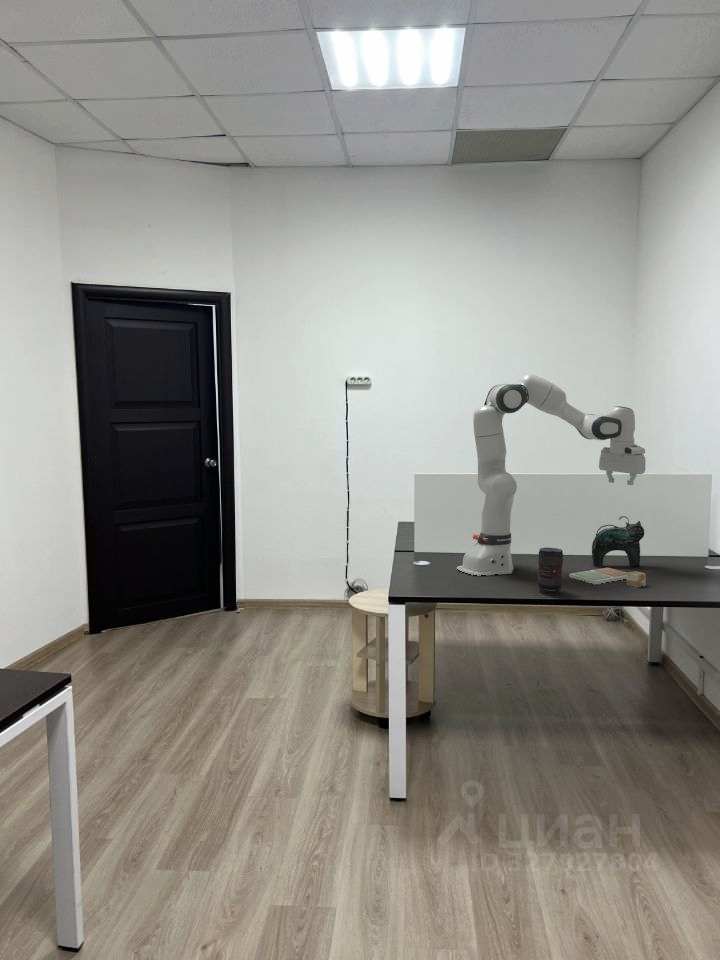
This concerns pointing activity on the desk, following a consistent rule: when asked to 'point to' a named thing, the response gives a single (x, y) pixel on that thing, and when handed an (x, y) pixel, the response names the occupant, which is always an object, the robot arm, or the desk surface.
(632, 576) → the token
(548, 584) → the camera lens
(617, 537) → the ceramic cat
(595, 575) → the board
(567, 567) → the desk surface
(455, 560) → the desk surface
